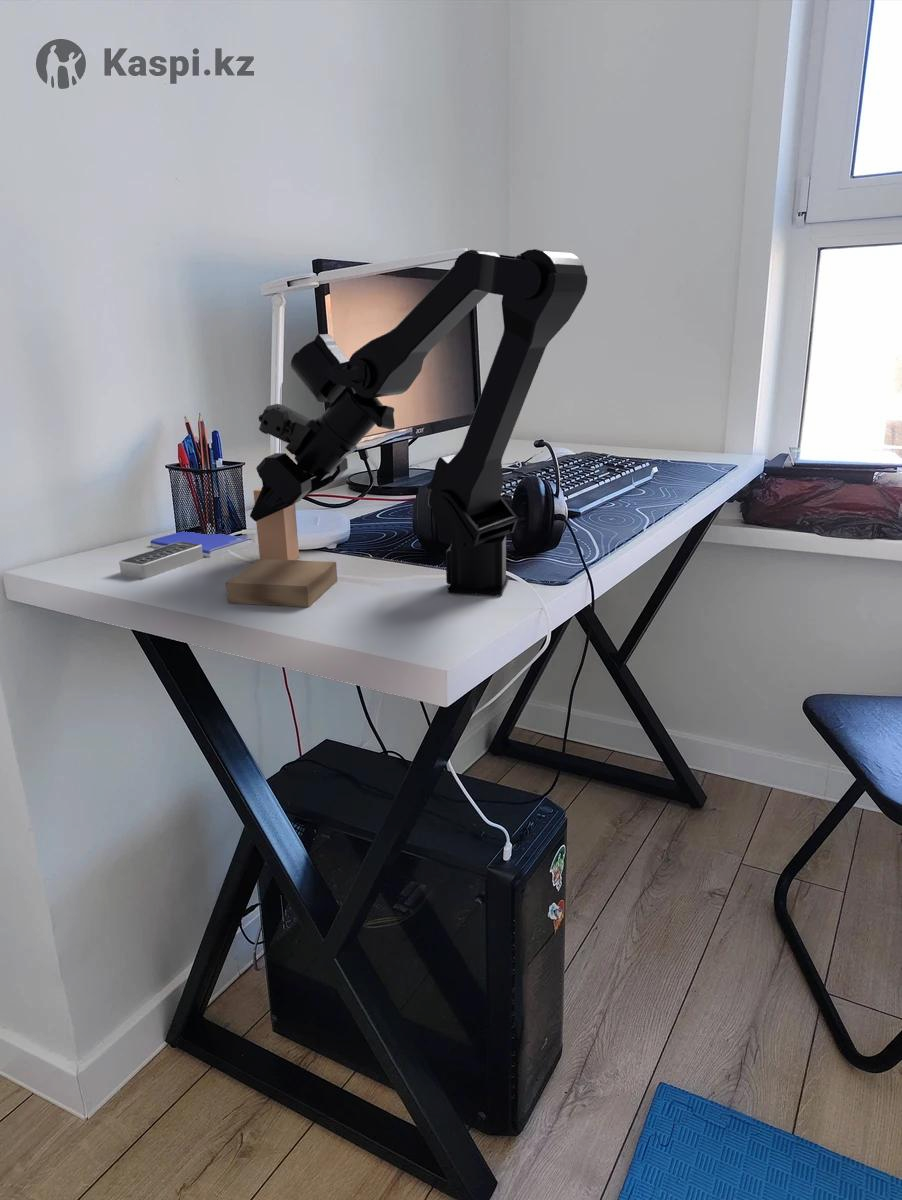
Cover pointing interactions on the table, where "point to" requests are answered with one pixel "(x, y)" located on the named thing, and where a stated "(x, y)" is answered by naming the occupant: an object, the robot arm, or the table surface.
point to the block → (278, 534)
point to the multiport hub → (160, 560)
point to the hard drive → (204, 542)
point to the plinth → (282, 582)
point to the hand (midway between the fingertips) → (267, 510)
